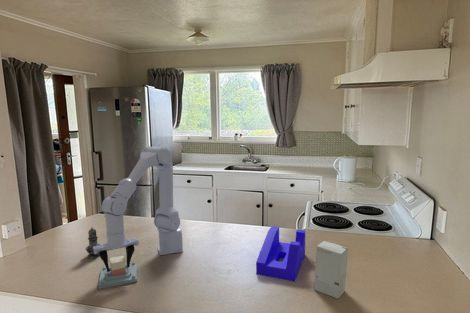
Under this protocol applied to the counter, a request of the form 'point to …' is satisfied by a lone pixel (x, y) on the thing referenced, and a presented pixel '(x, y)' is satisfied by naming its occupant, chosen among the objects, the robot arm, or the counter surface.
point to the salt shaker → (92, 244)
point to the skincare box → (331, 269)
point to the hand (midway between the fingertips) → (118, 268)
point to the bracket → (281, 256)
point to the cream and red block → (118, 266)
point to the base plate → (118, 277)
